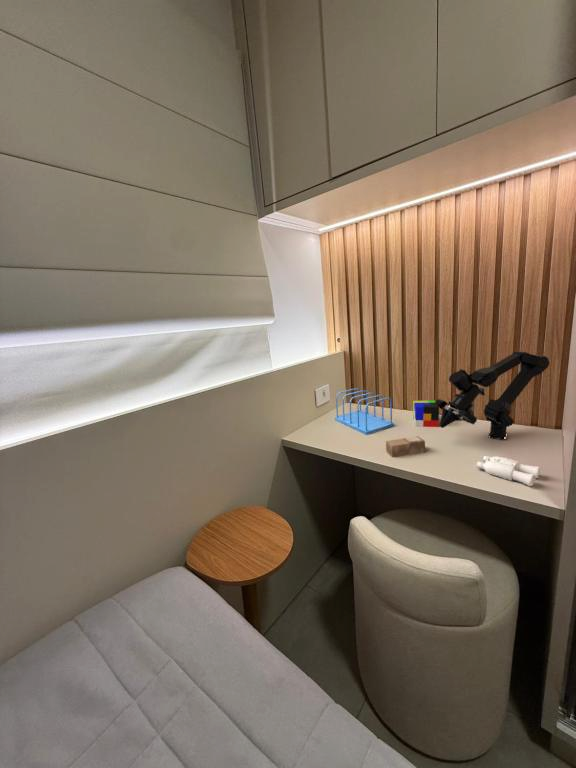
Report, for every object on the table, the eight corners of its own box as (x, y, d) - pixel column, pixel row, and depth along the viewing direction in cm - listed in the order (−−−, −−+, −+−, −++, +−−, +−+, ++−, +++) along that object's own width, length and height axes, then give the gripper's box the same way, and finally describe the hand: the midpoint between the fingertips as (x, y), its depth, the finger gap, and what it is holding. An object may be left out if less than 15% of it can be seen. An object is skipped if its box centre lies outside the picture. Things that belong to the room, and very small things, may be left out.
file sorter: (334, 420, 170) (333, 392, 167) (360, 413, 178) (359, 386, 174) (366, 435, 148) (365, 403, 145) (394, 426, 156) (394, 396, 152)
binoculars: (530, 490, 99) (532, 476, 98) (474, 472, 111) (475, 460, 110) (540, 477, 106) (541, 464, 105) (486, 461, 118) (487, 450, 117)
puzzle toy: (415, 426, 153) (416, 406, 151) (413, 419, 163) (413, 400, 160) (438, 427, 151) (439, 406, 149) (434, 419, 160) (434, 400, 158)
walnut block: (417, 435, 132) (386, 440, 130) (425, 440, 127) (392, 445, 125) (417, 447, 133) (386, 452, 131) (424, 452, 128) (392, 457, 126)
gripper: (496, 415, 123) (469, 447, 123) (461, 402, 140) (438, 429, 141) (479, 398, 119) (451, 431, 120) (446, 387, 137) (422, 415, 138)
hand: (441, 427), depth 130 cm, fingers closed
